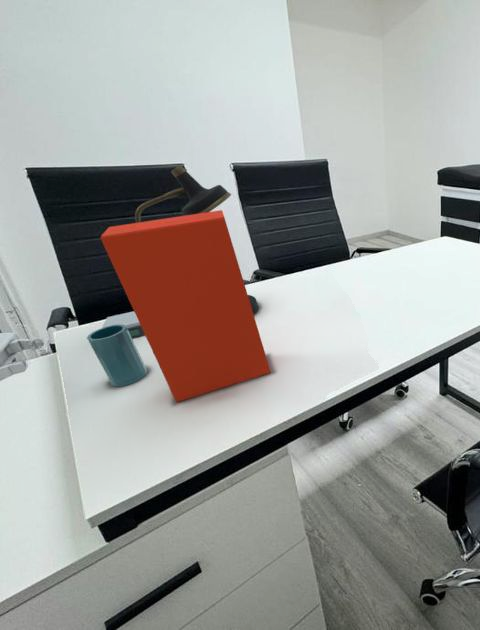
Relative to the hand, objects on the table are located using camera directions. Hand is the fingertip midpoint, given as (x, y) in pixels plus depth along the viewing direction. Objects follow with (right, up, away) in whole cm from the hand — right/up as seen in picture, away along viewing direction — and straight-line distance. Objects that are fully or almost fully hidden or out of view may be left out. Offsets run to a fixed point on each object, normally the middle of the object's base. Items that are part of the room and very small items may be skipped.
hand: (34, 353), depth 73 cm
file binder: (+33, -6, +6) cm, 34 cm away
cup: (+11, -6, +9) cm, 16 cm away
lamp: (+18, +7, +33) cm, 39 cm away
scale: (-3, +3, +29) cm, 29 cm away
